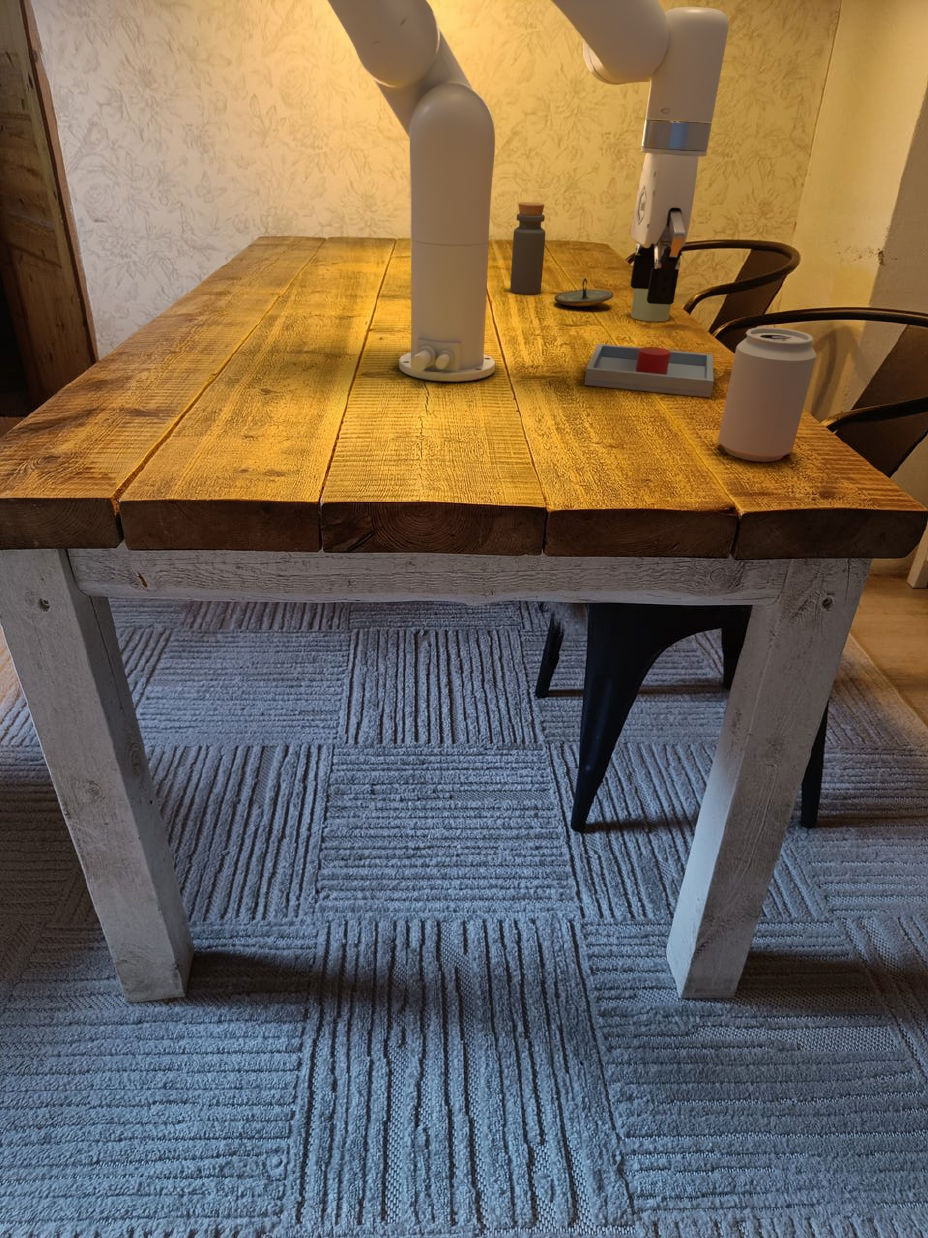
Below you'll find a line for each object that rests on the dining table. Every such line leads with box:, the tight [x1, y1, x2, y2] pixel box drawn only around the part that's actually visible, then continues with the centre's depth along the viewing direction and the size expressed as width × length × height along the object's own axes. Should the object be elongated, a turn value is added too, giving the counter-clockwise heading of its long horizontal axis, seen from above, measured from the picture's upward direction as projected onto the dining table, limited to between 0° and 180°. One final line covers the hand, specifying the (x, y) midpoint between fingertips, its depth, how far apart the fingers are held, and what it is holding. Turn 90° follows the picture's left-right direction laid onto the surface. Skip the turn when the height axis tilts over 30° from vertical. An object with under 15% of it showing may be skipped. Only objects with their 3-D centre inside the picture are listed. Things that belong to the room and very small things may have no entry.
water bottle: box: [630, 251, 672, 323], centre depth 137 cm, size 6×6×18 cm
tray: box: [584, 343, 715, 399], centre depth 109 cm, size 14×16×2 cm
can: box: [717, 326, 818, 463], centre depth 83 cm, size 8×8×12 cm
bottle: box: [509, 201, 546, 296], centre depth 153 cm, size 6×6×15 cm
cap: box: [636, 346, 671, 375], centre depth 108 cm, size 4×4×3 cm
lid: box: [553, 277, 614, 308], centre depth 147 cm, size 11×10×5 cm
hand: (650, 295), depth 105 cm, fingers open, 9 cm apart
